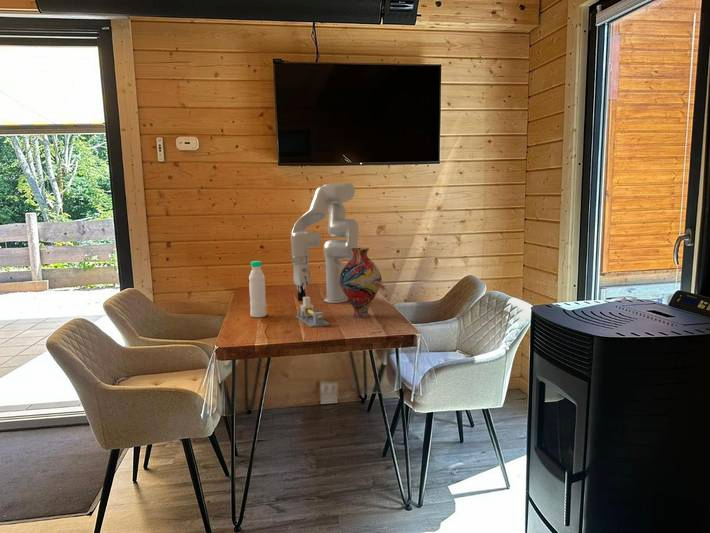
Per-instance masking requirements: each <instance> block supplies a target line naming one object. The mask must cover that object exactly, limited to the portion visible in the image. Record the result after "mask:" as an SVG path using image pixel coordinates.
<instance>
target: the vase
mask: <svg viewBox="0 0 710 533" xmlns="http://www.w3.org/2000/svg"><path fill="white" fill-rule="evenodd" d="M351 250H352V252H353V258H352V259H349V261H348V262H347V263H346V264H345V265H344V268H343V270H342V272H341V275H340V279H339V284H340V287H341V289H342V290H343V292H344V293H345V295H346V296H347V298H348V301H349V302H350V303H349V304H351V306H352V308H353V311H354V313H352V314H351V316H352V317H354V318H368V317H370V316H371V313H369V308H370V306H371V304H372V302H373V300H374V299H375V297H376V296H377V294H378V292H379V290H380V289H381V287H382V284H383V283H382V282H383V280H382V274H381V272H380V270H379V269H378V268H379V267H378V266H377V265H376V264H375V263H374V262H373V261H372V260H371V259H370V258H369V257H368V252H369V250H370V248H368V247H358V248H352V249H351Z"/></svg>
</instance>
